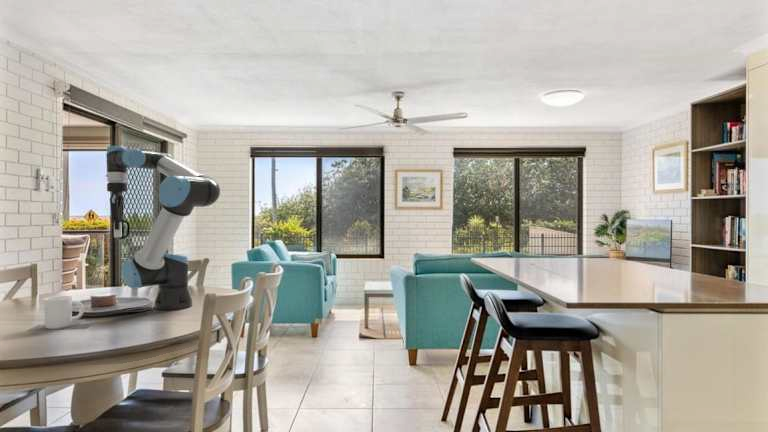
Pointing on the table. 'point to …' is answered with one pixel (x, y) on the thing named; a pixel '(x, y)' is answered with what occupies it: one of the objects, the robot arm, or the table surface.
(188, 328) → the table surface
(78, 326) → the t mat
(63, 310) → the mug
